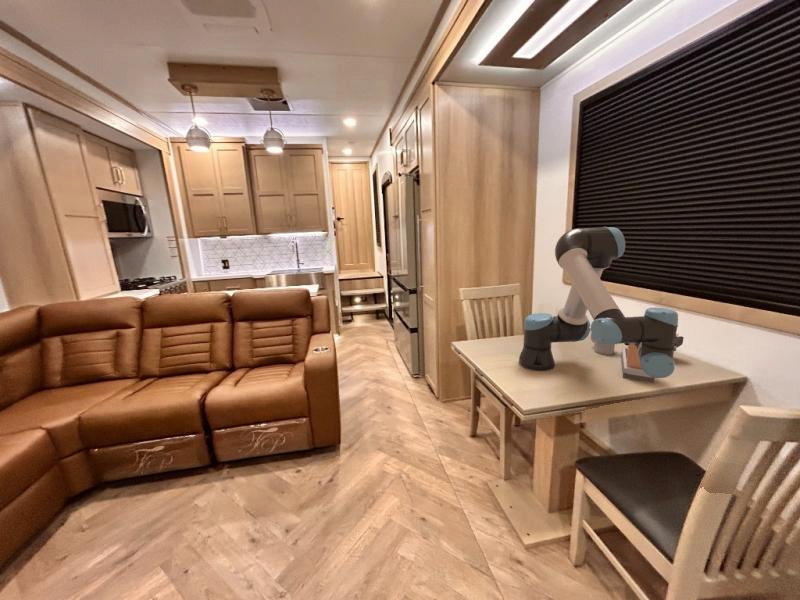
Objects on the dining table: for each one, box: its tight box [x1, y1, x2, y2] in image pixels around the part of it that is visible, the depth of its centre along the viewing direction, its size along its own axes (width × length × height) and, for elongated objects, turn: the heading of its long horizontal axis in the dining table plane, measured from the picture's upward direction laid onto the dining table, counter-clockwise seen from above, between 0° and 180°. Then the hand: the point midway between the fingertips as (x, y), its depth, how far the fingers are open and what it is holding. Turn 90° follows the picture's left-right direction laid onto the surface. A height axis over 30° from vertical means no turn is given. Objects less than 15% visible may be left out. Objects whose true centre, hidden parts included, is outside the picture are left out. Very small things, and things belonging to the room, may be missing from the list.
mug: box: [590, 332, 616, 355], centre depth 157 cm, size 12×8×11 cm
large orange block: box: [626, 344, 642, 369], centre depth 129 cm, size 6×8×16 cm
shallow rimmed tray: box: [620, 347, 655, 384], centre depth 137 cm, size 25×10×4 cm, turn 147°
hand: (645, 330), depth 120 cm, fingers open, 12 cm apart
